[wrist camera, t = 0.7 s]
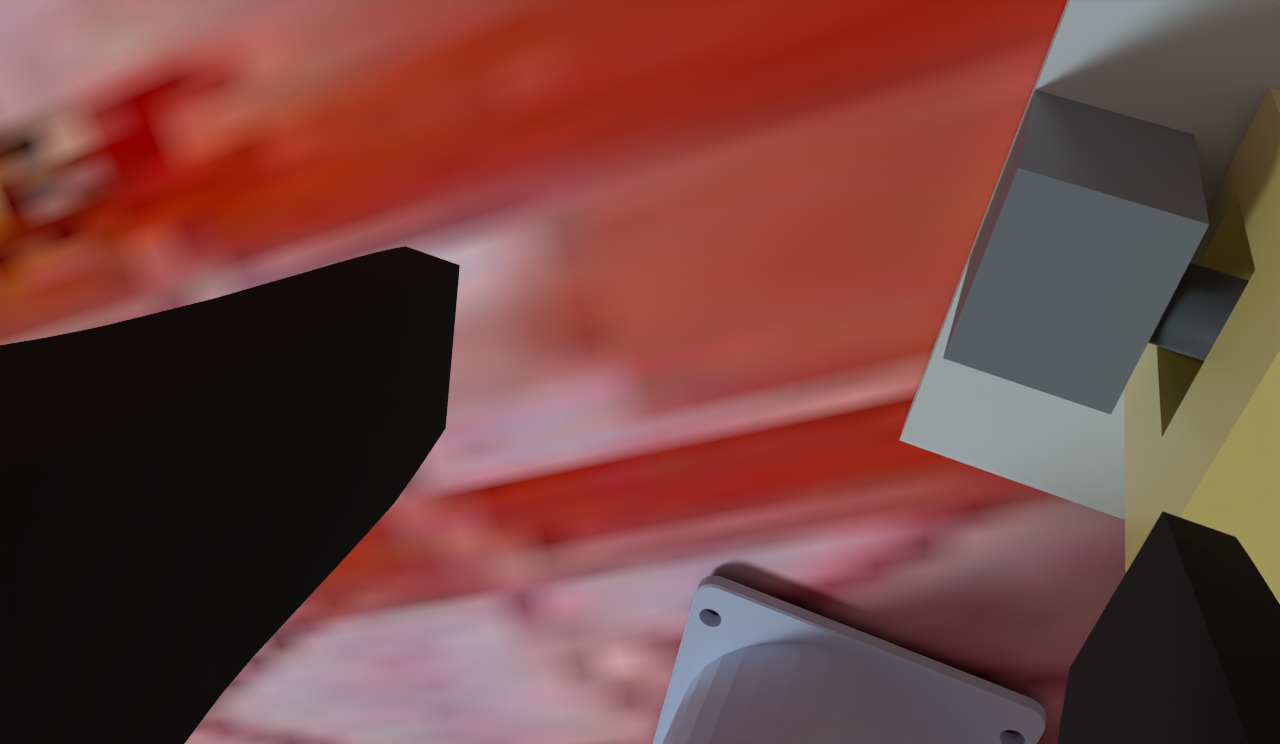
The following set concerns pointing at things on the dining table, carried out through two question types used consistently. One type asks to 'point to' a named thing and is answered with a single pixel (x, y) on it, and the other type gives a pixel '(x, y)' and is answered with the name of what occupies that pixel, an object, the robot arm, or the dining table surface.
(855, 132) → the dining table surface
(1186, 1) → the grey board with rod
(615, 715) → the dining table surface
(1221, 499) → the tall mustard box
